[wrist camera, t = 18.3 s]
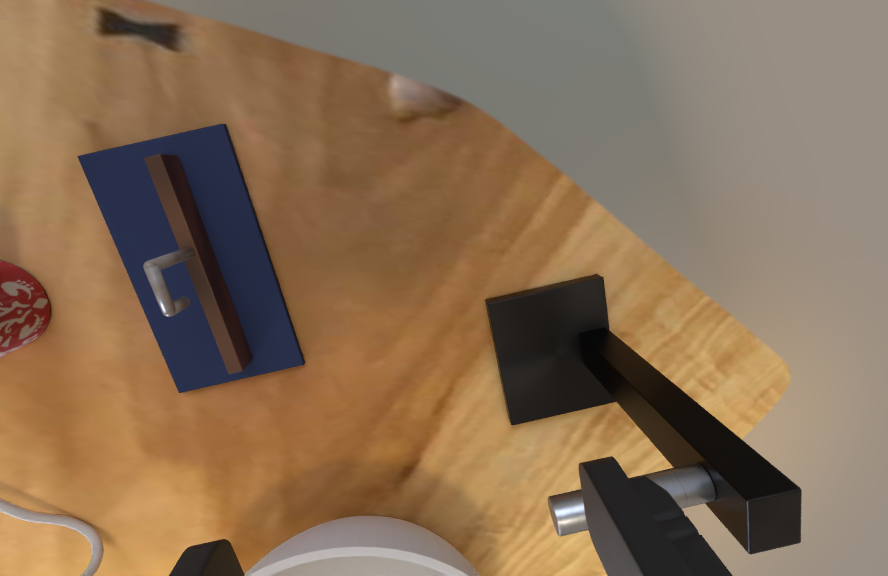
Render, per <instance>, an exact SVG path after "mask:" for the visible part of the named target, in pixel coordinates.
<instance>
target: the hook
mask: <svg viewBox="0 0 888 576" xmlns="http://www.w3.org/2000/svg"><path fill="white" fill-rule="evenodd" d="M0 511H1V512H3V513H5V514H8V515H10V516H13V517H15V518H18V519H22V520H25V521H30V522H37V523H47V524H56V525H61V526H66V527H68V528H71V529H74V530H76V531H78V532H80V533H81V534H83V535H84V536H85V537H86V538H87V539H88V540H89V542H90V544H91V547H92V559H91V562H90V564H89V566H88V567H87V569H86V570H85V571H84V573H83V574H82V575H80V576H93V575H94V574H95V573H96V571H97V569H98V568H99V566H100V564H101V561H102V558H103V551H104V549H103V542H102V539H101V537H100V535H99V534H98V532H97V531H96V530H95V529H94V528H93V527H92V526H90V525H89V524H87V523H85V522H83V521H81V520H79V519H76V518H73V517H70V516H65V515H59V514H50V513H41V512H35V511H31V510H28V509H25V508H22V507H20V506H17V505H15V504H12V503H10V502H8V501H5V500H3V499H1V498H0Z"/></svg>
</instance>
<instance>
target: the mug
mask: <svg viewBox="0 0 888 576" xmlns="http://www.w3.org/2000/svg"><path fill="white" fill-rule="evenodd" d="M49 318H50V308H49V302H48V299H47V297H46V294H45V292H44V290H43V289H42V287H41V286H40V284H39V283H38V282H37V281H36V280H35V279H34V278H33V277H32V276H31V275H30V274H29V273H27V272H26V271H24V270H23V269H21V268H19V267H17V266H15V265H13V264H10V263H7V262H4V261H0V358H1V357H3V356H5V355H7V354H9V353H11V352H13V351H15V350H17V349H19V348H21V347H23V346H25V345H26V344H28V343H30V342H32V341H33V340H35V339H36V338H38V337H39V336H40V335H41V334H42V333H43V332H44V330H45V329H46V327H47V324H48V322H49Z"/></svg>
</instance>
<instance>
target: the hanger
mask: <svg viewBox="0 0 888 576" xmlns="http://www.w3.org/2000/svg"><path fill="white" fill-rule="evenodd" d="M144 160H145V162H146V165H147V167H148V170H149V173H150V175H151V178H152V180H153V183H154V185H155V188H156V190H157V193H158V195H159V198H160V201H161V203H162V206H163V208H164V211H165V213H166V216H167V218H168V221H169V223H170V226H171V229H172V231H173V234H174V236H175V239H176V241H177V244H178V246H179V249H180V250H178V251H175V252H172V253H169V254H166V255H163V256H160V257H157V258H154V259H152V260H149V261H146V262H145V263H144V265H143V268H144V270H145V273H146V275H147V277H148V280H149V282H150V285H151V287H152V289H153V292H154V294H155V296H156V299H157V301H158V304H159V306H160V308H161V311H162V313H163V315H165V316H167V317H171V316H174V315H175V314H177V313H179V312H180V311H182V310H183V309H185V308H187V307H188V306H189V305H190V300H189V299H188V298H187V297H180V298H178V299H176V300H175V301H173V300H172V297H171V295H170V292H169V290H168V287H167V285H166V283H165V280H164V278H163V275H162V273H161V270H162V269H164V268H167V267H169V266H172V265H174V264H177V263H180V262H182V261H184V262H185V264H186V267H187V269H188V272H189V274H190V277H191V279H192V282H193V285H194V287H195V290H196V292H197V295H198V297H199V300H200V302H201V305H202V307H203V310H204V313H205V315H206V318H207V320H208V323H209V325H210V328H211V330H212V333H213V336H214V338H215V341H216V343H217V346H218V348H219V351H220V353H221V356H222V358H223V361H224V364H225V366H226V369H227V371H228V374H232V373H236V372H240V371H243V370H244V369H245V368H246V367H247V365H248V364H249V363H250V362H251V361H252V360H253V356H252V354H251V351H250V348H249V346H248V343H247V340H246V337H245V335H244V332H243V329H242V327H241V324H240V321H239V319H238V316H237V313H236V311H235V308H234V305H233V302H232V300H231V297H230V294H229V292H228V289H227V286H226V284H225V281H224V278H223V276H222V273H221V270H220V267H219V265H218V262H217V259H216V257H215V254H214V251H213V249H212V246H211V243H210V240H209V238H208V235H207V232H206V230H205V227H204V224H203V222H202V219H201V216H200V214H199V211H198V208H197V205H196V203H195V200H194V197H193V195H192V192H191V189H190V187H189V184H188V181H187V179H186V176H185V173H184V170H183V168H182V165H181V162H180V160H179V157H178V155H166V154H158V155H153V156H149V157H145V158H144Z"/></svg>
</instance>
